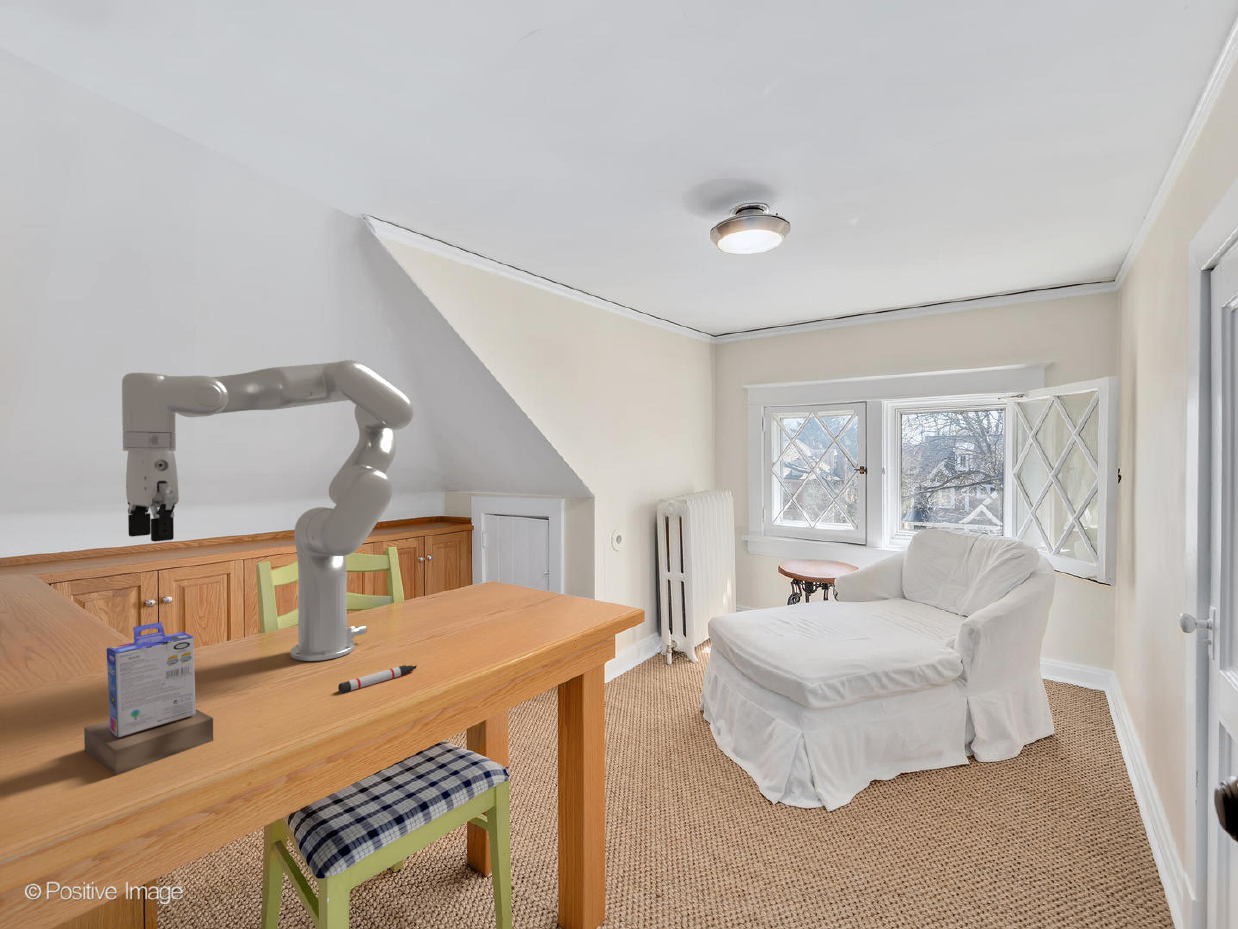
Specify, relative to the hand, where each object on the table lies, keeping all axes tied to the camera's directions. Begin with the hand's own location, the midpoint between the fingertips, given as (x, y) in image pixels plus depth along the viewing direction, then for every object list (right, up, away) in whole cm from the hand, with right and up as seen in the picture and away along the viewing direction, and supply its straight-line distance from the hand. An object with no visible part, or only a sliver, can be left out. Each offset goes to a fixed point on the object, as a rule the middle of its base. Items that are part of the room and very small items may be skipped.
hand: (150, 538), depth 109 cm
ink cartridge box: (+14, -26, -18) cm, 34 cm away
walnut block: (+14, -30, -18) cm, 37 cm away
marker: (+38, -29, +8) cm, 49 cm away
